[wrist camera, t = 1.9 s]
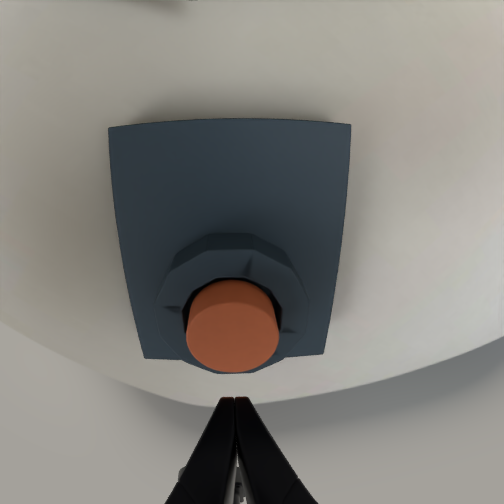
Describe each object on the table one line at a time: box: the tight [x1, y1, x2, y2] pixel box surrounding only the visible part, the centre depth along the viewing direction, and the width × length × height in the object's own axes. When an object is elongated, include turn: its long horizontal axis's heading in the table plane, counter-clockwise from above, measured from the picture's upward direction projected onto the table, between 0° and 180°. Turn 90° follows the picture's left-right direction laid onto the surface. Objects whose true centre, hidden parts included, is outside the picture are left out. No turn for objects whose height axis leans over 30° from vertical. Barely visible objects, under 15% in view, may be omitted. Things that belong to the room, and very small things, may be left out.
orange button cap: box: [186, 280, 279, 372], centre depth 12 cm, size 4×4×2 cm
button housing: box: [108, 118, 351, 374], centre depth 14 cm, size 12×10×4 cm
